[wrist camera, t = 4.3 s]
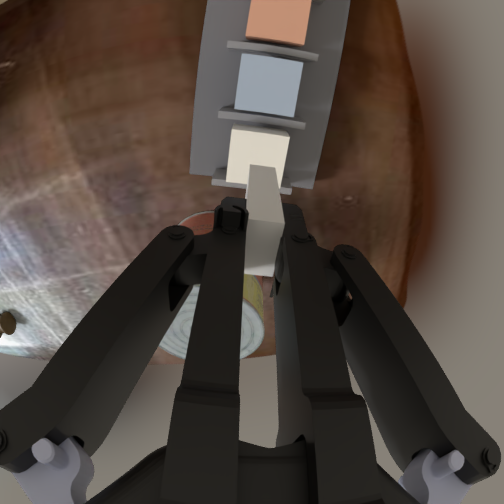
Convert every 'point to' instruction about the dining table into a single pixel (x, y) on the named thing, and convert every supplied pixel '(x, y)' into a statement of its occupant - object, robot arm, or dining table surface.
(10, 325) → the kendama
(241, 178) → the key ivory
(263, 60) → the key slate
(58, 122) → the dining table surface
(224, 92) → the keypad
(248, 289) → the canned food
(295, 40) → the key terracotta
